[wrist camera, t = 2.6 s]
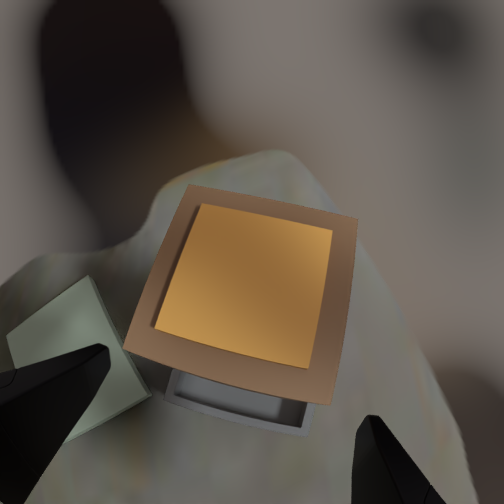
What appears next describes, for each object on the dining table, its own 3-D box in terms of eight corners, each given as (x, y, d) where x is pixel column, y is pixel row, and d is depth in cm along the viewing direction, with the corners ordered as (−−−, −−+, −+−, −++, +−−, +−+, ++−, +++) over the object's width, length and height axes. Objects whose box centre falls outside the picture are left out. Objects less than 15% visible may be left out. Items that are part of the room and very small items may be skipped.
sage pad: (152, 394, 17) (147, 394, 16) (55, 447, 15) (48, 448, 14) (93, 279, 21) (87, 275, 20) (13, 338, 18) (6, 335, 18)
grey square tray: (302, 433, 16) (307, 437, 14) (172, 399, 17) (163, 399, 15) (329, 310, 20) (336, 301, 18) (208, 282, 21) (204, 270, 19)
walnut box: (279, 397, 17) (332, 405, 5) (209, 380, 17) (118, 346, 6) (295, 330, 19) (360, 214, 7) (227, 315, 19) (187, 179, 8)
